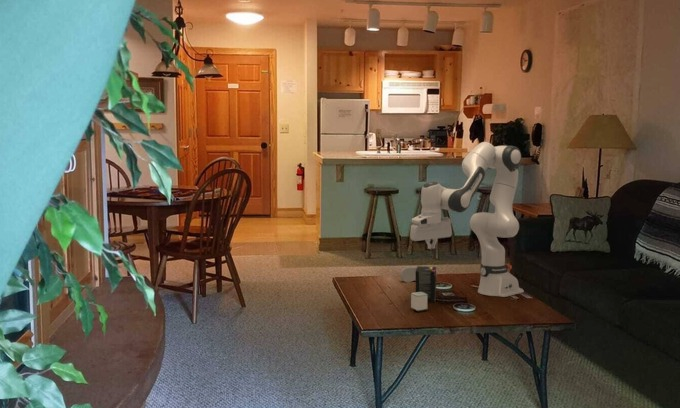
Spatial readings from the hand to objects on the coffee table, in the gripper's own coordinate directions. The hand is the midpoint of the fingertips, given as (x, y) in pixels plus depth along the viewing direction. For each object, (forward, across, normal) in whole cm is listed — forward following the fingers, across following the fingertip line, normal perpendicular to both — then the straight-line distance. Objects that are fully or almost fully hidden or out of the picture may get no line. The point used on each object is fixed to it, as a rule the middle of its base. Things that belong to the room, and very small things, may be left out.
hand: (431, 248), depth 281 cm
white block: (+25, +11, +6) cm, 27 cm away
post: (+26, +11, +6) cm, 28 cm away
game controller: (+27, -17, -40) cm, 51 cm away
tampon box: (+26, -2, -9) cm, 28 cm away
